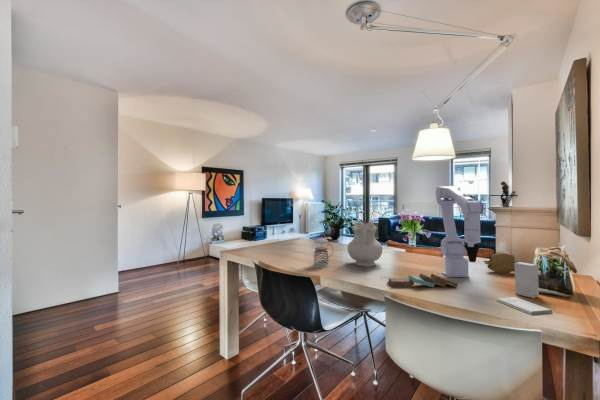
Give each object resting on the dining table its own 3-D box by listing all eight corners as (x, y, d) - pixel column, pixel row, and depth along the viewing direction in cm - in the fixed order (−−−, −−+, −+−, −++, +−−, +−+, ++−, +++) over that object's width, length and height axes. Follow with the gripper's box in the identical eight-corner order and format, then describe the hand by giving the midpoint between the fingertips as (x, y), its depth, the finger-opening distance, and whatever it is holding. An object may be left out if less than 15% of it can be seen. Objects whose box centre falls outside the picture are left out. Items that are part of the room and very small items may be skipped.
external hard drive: (531, 316, 89) (496, 302, 101) (552, 314, 90) (515, 300, 102) (531, 311, 89) (496, 297, 101) (552, 309, 90) (515, 296, 102)
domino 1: (409, 278, 122) (388, 278, 122) (413, 281, 117) (392, 281, 117) (409, 281, 122) (388, 281, 122) (413, 285, 117) (392, 285, 117)
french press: (313, 263, 162) (313, 220, 162) (333, 264, 160) (333, 220, 160) (311, 267, 152) (311, 221, 152) (333, 268, 150) (332, 221, 150)
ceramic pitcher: (386, 271, 147) (390, 224, 147) (349, 268, 147) (353, 221, 148) (376, 262, 169) (379, 221, 169) (344, 260, 169) (347, 219, 169)
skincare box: (539, 297, 105) (539, 264, 105) (533, 298, 103) (532, 265, 103) (520, 292, 110) (520, 261, 110) (514, 293, 108) (514, 262, 108)
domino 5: (452, 280, 121) (431, 273, 121) (457, 283, 116) (436, 276, 116) (450, 284, 121) (430, 276, 121) (456, 287, 116) (435, 279, 116)
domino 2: (408, 281, 122) (387, 281, 122) (412, 285, 117) (390, 285, 117) (407, 285, 122) (387, 285, 122) (412, 289, 117) (390, 288, 117)
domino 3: (427, 279, 121) (409, 275, 120) (434, 283, 117) (416, 278, 115) (426, 283, 121) (408, 278, 120) (433, 287, 117) (415, 282, 115)
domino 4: (440, 280, 121) (420, 273, 122) (445, 283, 116) (425, 276, 117) (439, 283, 121) (419, 276, 122) (444, 287, 116) (423, 279, 117)
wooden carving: (518, 272, 141) (518, 252, 141) (523, 274, 136) (523, 254, 136) (482, 270, 143) (482, 251, 143) (486, 273, 139) (486, 253, 139)
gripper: (463, 227, 126) (463, 257, 126) (459, 230, 114) (459, 263, 114) (481, 228, 122) (482, 259, 122) (479, 231, 110) (479, 266, 110)
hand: (472, 261), depth 117 cm, fingers closed
